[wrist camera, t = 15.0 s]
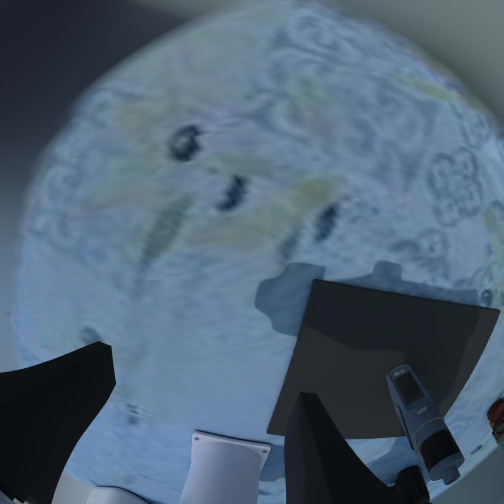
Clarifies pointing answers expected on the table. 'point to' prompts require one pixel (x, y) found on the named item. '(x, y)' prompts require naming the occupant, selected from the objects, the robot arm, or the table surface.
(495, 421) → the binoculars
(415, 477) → the film camera
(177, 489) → the table surface
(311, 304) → the mat
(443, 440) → the vaping device
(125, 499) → the plastic bottle
